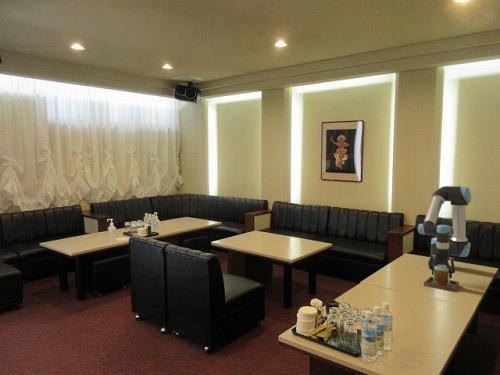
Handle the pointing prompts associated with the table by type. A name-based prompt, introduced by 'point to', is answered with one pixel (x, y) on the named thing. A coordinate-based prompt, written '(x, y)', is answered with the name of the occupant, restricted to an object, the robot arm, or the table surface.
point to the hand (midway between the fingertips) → (441, 281)
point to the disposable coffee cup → (441, 274)
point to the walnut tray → (449, 287)
